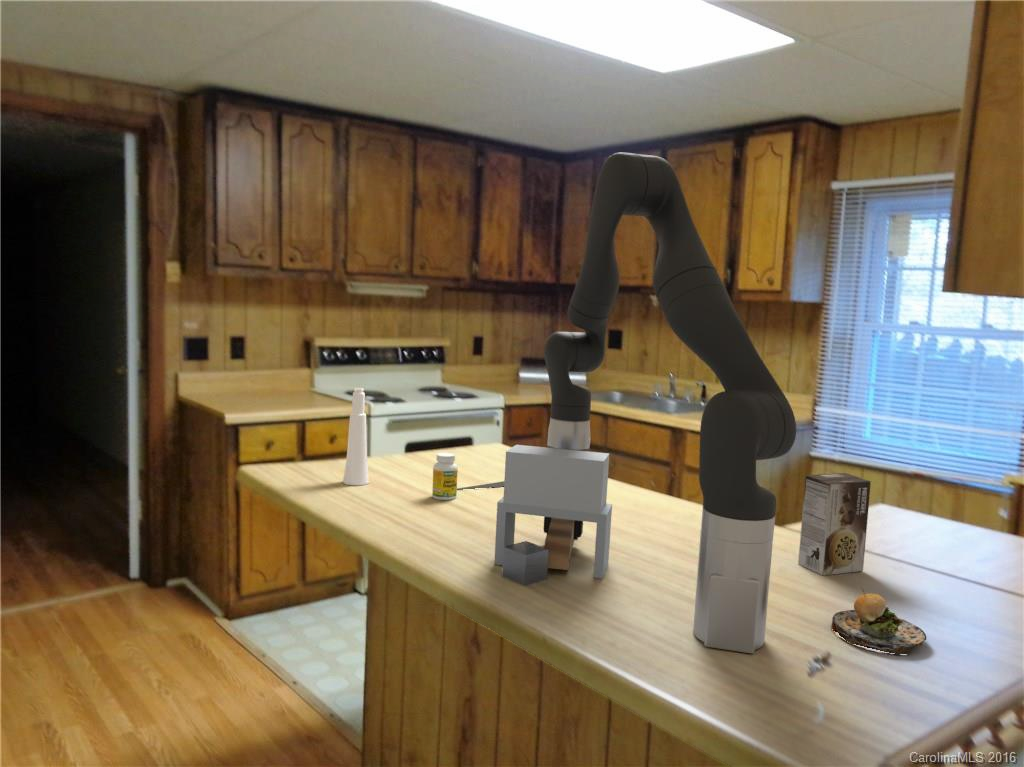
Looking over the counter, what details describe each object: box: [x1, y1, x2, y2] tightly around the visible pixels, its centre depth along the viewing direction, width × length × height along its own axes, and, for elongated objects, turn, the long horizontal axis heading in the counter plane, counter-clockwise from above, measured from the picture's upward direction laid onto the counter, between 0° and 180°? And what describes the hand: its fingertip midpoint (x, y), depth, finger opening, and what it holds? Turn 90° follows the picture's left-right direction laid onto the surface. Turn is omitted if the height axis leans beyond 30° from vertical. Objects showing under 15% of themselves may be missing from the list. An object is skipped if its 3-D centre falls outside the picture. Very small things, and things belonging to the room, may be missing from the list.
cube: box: [501, 540, 549, 587], centre depth 122 cm, size 5×5×5 cm
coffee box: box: [797, 472, 872, 576], centre depth 134 cm, size 9×6×16 cm
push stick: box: [544, 518, 575, 571], centre depth 136 cm, size 24×4×4 cm, turn 172°
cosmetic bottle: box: [342, 387, 370, 486], centre depth 178 cm, size 6×6×22 cm
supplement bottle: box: [432, 452, 458, 501], centre depth 169 cm, size 5×5×10 cm
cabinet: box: [494, 444, 613, 580], centre depth 128 cm, size 7×18×19 cm, turn 76°
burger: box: [830, 584, 927, 655], centre depth 106 cm, size 12×12×8 cm
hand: (562, 536), depth 140 cm, fingers closed on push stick, 4 cm apart
